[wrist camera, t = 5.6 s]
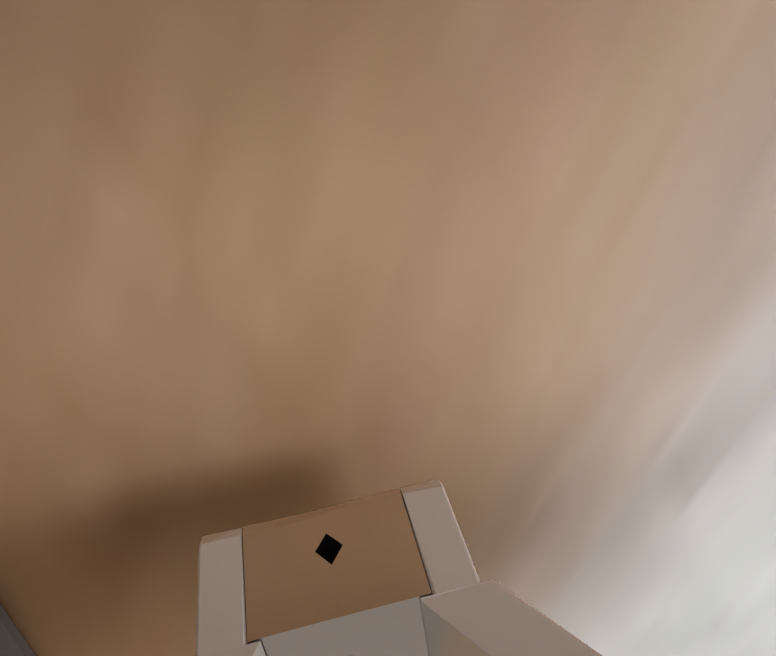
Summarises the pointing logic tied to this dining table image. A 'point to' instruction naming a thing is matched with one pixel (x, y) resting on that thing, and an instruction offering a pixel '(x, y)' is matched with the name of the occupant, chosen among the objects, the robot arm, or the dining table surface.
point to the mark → (12, 638)
